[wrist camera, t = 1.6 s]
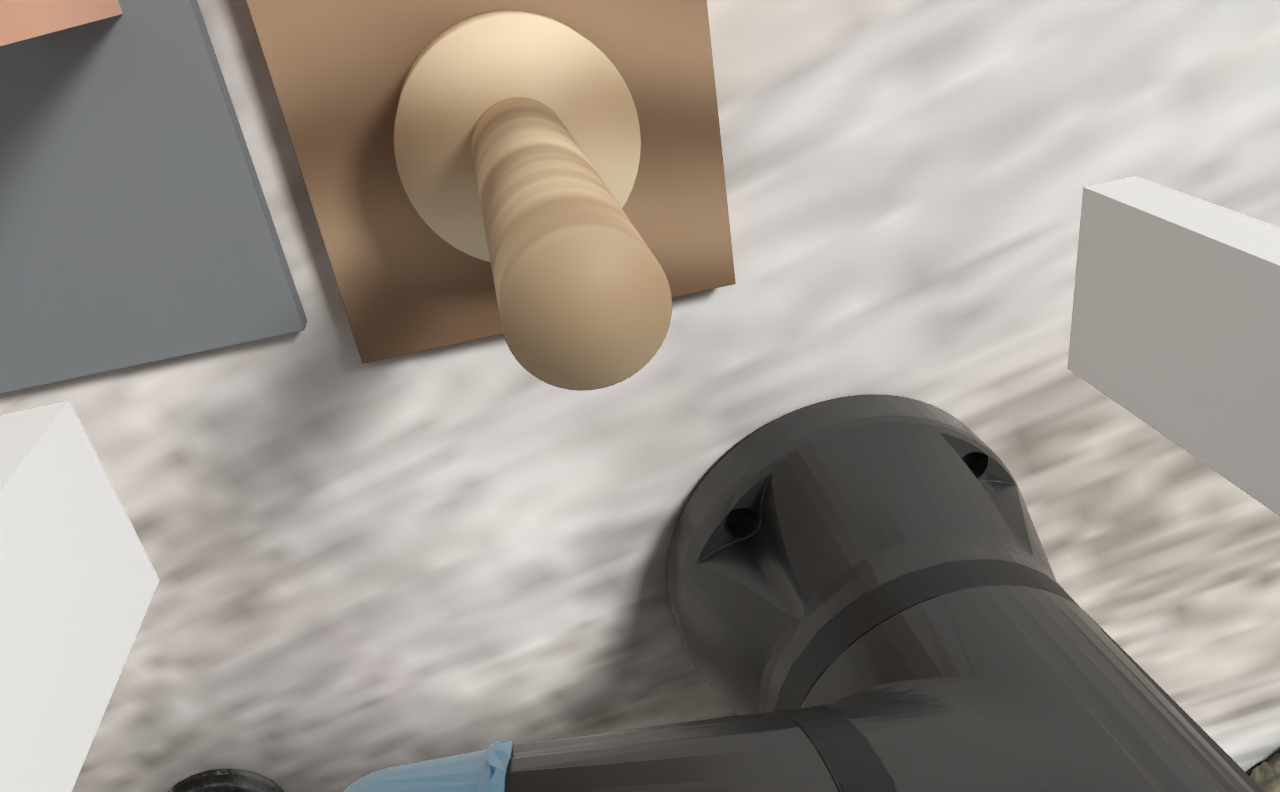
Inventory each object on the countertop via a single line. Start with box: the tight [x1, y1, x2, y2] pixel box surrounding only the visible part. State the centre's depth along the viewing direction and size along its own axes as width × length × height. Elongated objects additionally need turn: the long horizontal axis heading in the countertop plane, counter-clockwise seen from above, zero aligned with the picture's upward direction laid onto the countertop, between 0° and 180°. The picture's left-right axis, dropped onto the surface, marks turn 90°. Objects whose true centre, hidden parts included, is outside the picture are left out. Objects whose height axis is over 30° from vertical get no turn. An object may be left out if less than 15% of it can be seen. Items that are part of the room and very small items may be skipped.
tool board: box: [247, 0, 735, 363], centre depth 29 cm, size 13×13×1 cm
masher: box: [394, 9, 672, 390], centre depth 22 cm, size 7×7×16 cm
